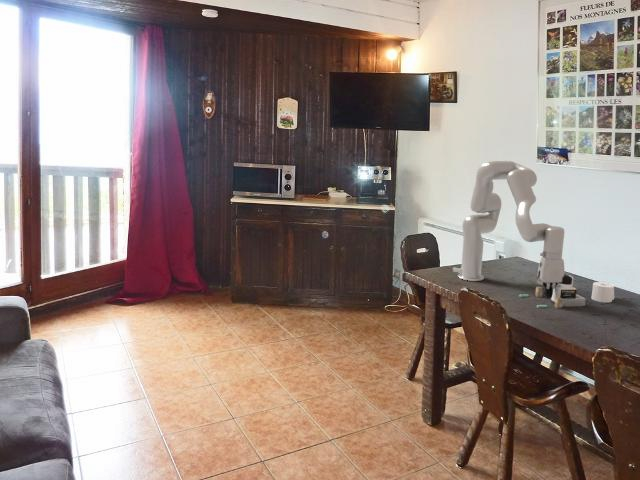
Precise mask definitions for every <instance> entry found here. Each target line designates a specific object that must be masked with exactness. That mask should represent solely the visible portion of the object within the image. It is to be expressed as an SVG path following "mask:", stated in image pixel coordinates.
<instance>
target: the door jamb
mask: <svg viewBox="0 0 640 480" xmlns="http://www.w3.org/2000/svg"><path fill="white" fill-rule="evenodd" d="M543 288H544V287H543V286H542V287H541V286H536V287H535V295H534V296H535V297H537V298H540V297H543ZM553 305H554V308H556V309H562V307H563V306H562V298H560V297H555V302H554V304H553Z"/></svg>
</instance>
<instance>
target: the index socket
mask: <svg viewBox="0 0 640 480" xmlns="http://www.w3.org/2000/svg"><path fill="white" fill-rule="evenodd" d="M543 295H544V294H543ZM543 297H544V298H546V297H545V295H544V296H543ZM585 306H586V297H583V296H581V295H579V294H578V293H576V298H562V306H561V307H585Z"/></svg>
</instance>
